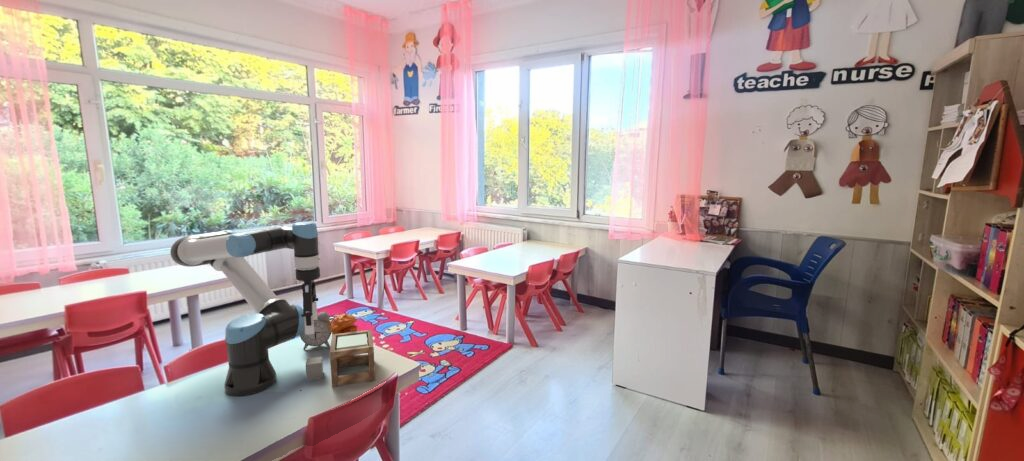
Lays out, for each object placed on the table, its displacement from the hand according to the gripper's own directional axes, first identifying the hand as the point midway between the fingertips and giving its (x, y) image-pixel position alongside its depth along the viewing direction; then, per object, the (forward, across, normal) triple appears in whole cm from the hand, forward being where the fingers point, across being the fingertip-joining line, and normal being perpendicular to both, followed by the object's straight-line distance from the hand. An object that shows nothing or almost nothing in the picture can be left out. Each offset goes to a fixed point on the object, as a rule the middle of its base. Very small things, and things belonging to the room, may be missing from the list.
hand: (311, 326), depth 149 cm
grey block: (+19, 0, 0) cm, 19 cm away
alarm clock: (+19, +26, +1) cm, 32 cm away
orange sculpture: (+19, +13, -10) cm, 25 cm away
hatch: (+8, -1, -13) cm, 15 cm away
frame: (+19, -2, -13) cm, 23 cm away
